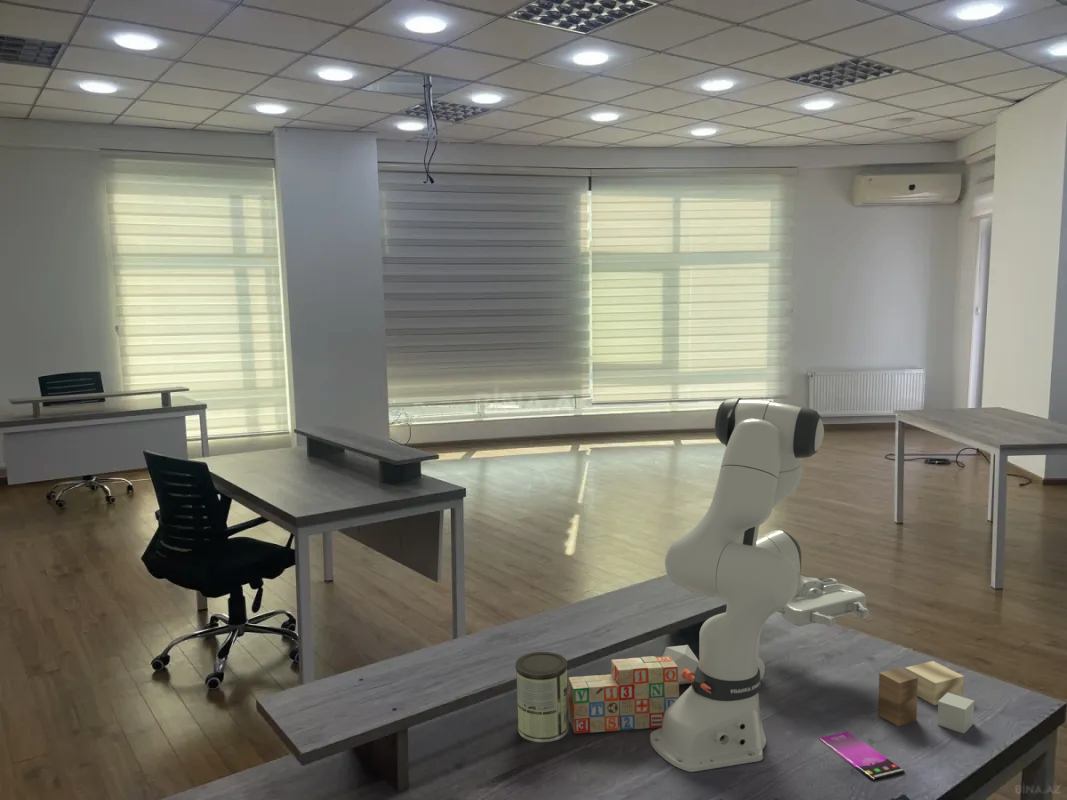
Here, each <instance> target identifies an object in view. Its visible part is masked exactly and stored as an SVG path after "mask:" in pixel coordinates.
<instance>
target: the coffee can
mask: <svg viewBox="0 0 1067 800" xmlns="http://www.w3.org/2000/svg"><path fill="white" fill-rule="evenodd" d="M567 668H568V660H567V659H566V658H565V656H563V655H561V654H558V653H556V652H550V651H536V652H529V653H526V654H525V655H522V656H520V657H519V658H517V659H516V662H515V670H516V696H517V697H516V698H517V702H516V703H517V731H518V732H517V733H518V734H519V735H520V736H521V738H523V739H524V740H527V741H529V742H534V743H550V742H551V743H552V742H555V741H558V740H560V739H562V738H564V737H565V736H566V735H567V734H568V732H569V727H570V726H569V712H568V711H569V708H568V707H569V701H568V670H567Z"/></svg>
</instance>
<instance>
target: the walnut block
mask: <svg viewBox="0 0 1067 800" xmlns="http://www.w3.org/2000/svg"><path fill="white" fill-rule="evenodd" d="M878 675H879V676H878V703H877V704H878V706H877V707H878V709H877V715H878V716H879V717H881V718H883V719H885V720H887V721H889V722H890V723H892V724H893V725H895V726H897V727H899V726H903V725H907V724H910V723H912V722H915V721H917V713H918V712H917V709H918V708H917V707H918V696H917V686H918V678H917V677H915V676H913V675H911V674H909V673H907V672H905V670H902V669H901V668H899V667H896V668H895V667H894V668H891V669H888V670H885V671H881V672H879V673H878Z"/></svg>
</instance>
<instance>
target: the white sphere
mask: <svg viewBox="0 0 1067 800" xmlns="http://www.w3.org/2000/svg"><path fill="white" fill-rule="evenodd" d="M765 667H766V666H765V664H764V662H763V660H762V659H761V658H760V657H758V668H759V669H760V680H762V679H763V678H764V675H765V674H766V673H765V671H766V668H765Z"/></svg>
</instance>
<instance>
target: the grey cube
mask: <svg viewBox="0 0 1067 800" xmlns="http://www.w3.org/2000/svg"><path fill="white" fill-rule="evenodd" d="M974 712H975V700H974V699H970V698H967V697H965V696H963V697H961V696H958V695H954V694H951V693H948V692H947V693H946V694H945V695H944V696H943V697H942V698H941V699H940V700H939V701H938V704H937V720H936V721H937V723H936V724H937V726H941V727H943V728H947V729H949V730H952V731H955V732H958V733H961V734H965V733H966V732H967V731H968V730H970V728H971V727H972V726H973V725H974V718H975V717H974V715H975V713H974Z"/></svg>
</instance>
